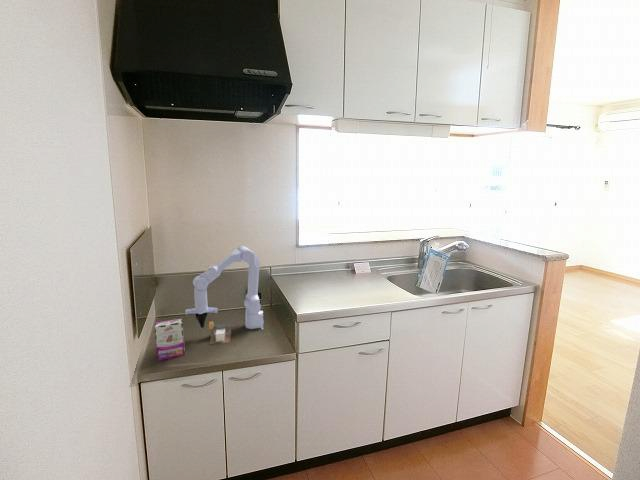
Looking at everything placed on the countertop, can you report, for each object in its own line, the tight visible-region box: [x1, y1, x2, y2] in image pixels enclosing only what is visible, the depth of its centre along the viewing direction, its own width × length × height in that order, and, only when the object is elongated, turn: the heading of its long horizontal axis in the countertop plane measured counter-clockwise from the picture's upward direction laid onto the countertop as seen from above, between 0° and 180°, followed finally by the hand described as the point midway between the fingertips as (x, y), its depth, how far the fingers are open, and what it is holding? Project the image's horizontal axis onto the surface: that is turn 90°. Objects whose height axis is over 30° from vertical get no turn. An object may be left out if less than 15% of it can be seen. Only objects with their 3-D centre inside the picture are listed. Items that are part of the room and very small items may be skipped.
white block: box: [215, 328, 227, 342], centre depth 164 cm, size 4×8×4 cm, turn 12°
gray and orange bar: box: [208, 321, 230, 330], centre depth 165 cm, size 10×2×3 cm, turn 102°
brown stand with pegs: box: [209, 326, 232, 345], centre depth 164 cm, size 10×11×5 cm
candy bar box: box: [154, 317, 186, 362], centre depth 147 cm, size 11×5×16 cm, turn 114°
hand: (202, 326), depth 164 cm, fingers closed
